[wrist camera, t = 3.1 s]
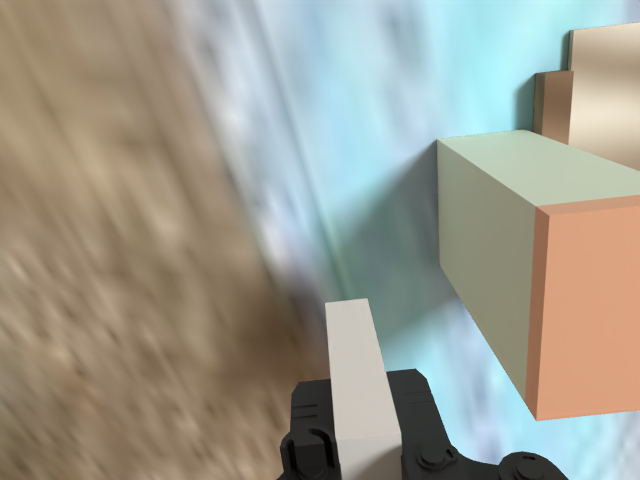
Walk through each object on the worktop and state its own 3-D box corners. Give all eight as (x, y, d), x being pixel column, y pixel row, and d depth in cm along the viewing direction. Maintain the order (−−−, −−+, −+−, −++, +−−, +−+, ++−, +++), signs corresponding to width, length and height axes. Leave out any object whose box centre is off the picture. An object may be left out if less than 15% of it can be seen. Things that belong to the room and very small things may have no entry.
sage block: (436, 138, 28) (549, 215, 15) (523, 129, 28) (711, 197, 15) (439, 265, 31) (536, 421, 18) (518, 256, 31) (672, 406, 18)
